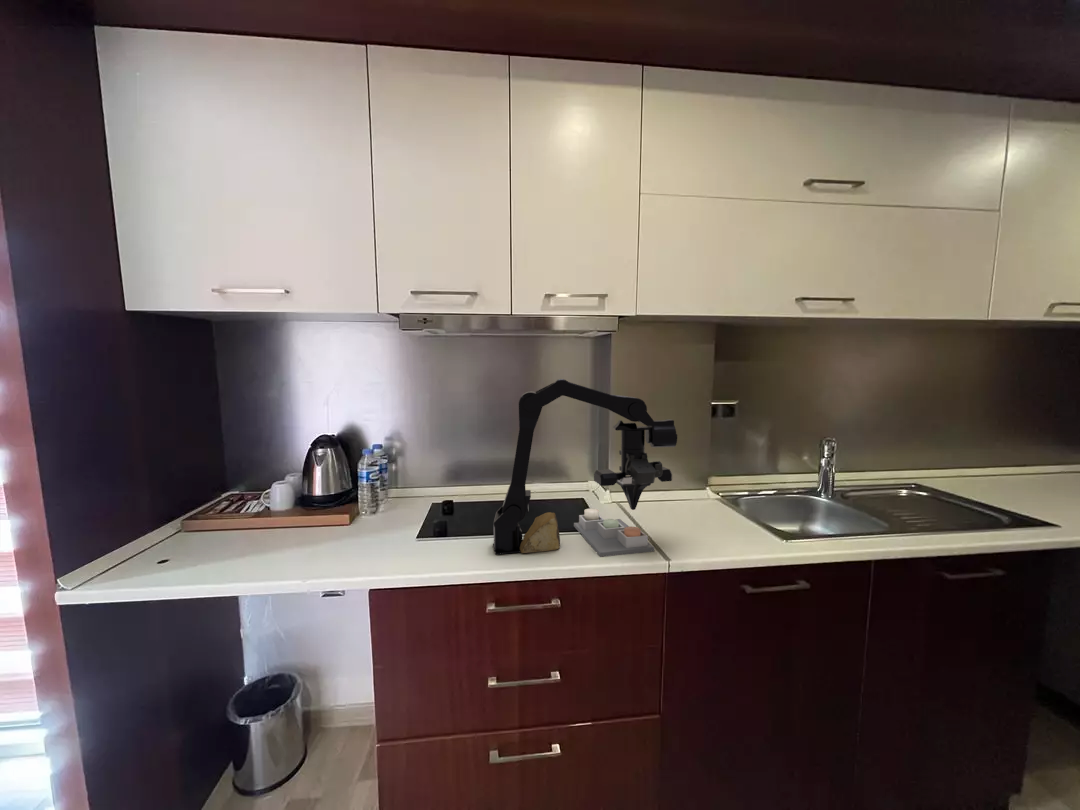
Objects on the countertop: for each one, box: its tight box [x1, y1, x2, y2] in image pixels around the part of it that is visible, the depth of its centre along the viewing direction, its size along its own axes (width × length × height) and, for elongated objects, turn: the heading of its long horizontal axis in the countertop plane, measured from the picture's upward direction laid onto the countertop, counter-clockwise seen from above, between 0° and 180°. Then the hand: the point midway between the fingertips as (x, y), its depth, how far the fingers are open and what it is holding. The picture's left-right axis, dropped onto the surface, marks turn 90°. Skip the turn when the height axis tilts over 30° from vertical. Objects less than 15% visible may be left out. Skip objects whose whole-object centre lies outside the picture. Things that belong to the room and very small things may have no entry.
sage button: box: [603, 518, 619, 529], centre depth 120 cm, size 4×4×3 cm
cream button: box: [583, 507, 600, 521], centre depth 127 cm, size 4×4×3 cm
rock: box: [519, 511, 561, 554], centre depth 114 cm, size 11×9×10 cm
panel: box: [573, 514, 655, 558], centre depth 121 cm, size 14×22×4 cm, turn 12°
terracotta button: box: [624, 526, 642, 537], centre depth 114 cm, size 4×4×3 cm
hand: (632, 509), depth 114 cm, fingers closed
